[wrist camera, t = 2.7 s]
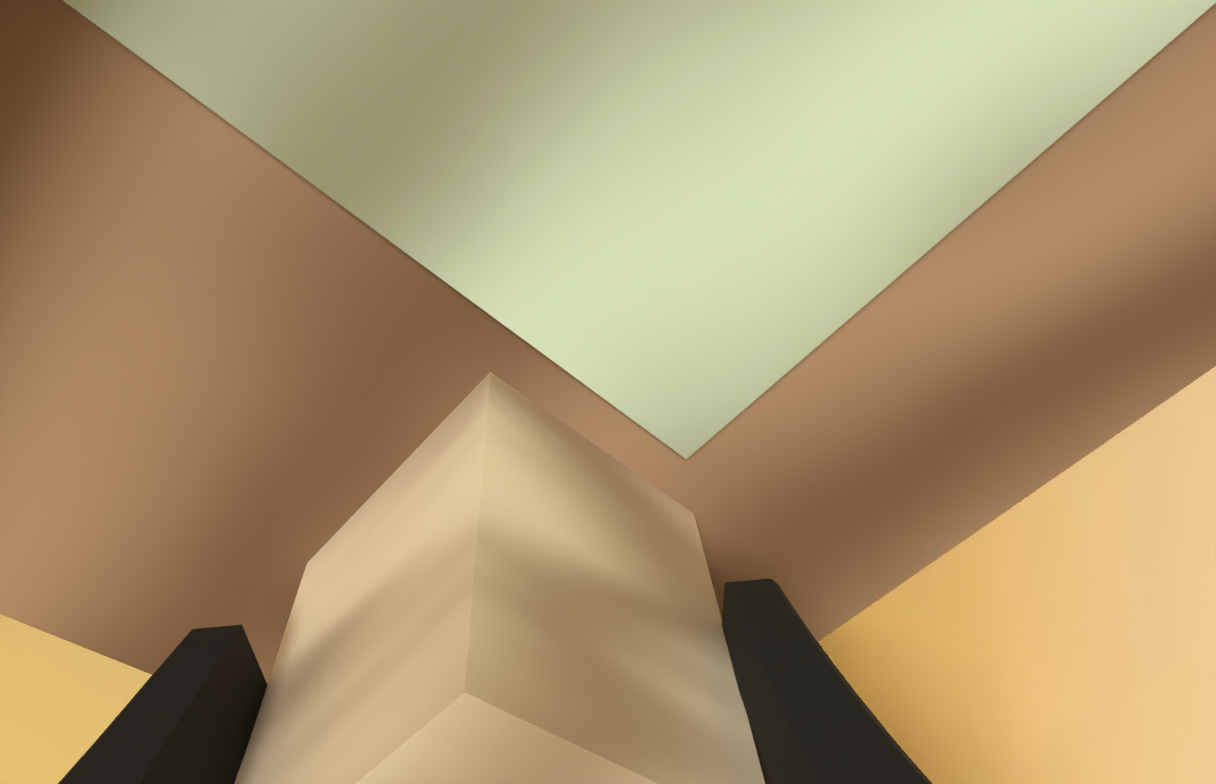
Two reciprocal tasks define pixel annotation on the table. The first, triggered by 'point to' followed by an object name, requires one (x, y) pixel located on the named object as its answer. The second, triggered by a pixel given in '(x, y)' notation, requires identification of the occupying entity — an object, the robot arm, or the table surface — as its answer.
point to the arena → (577, 273)
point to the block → (506, 625)
